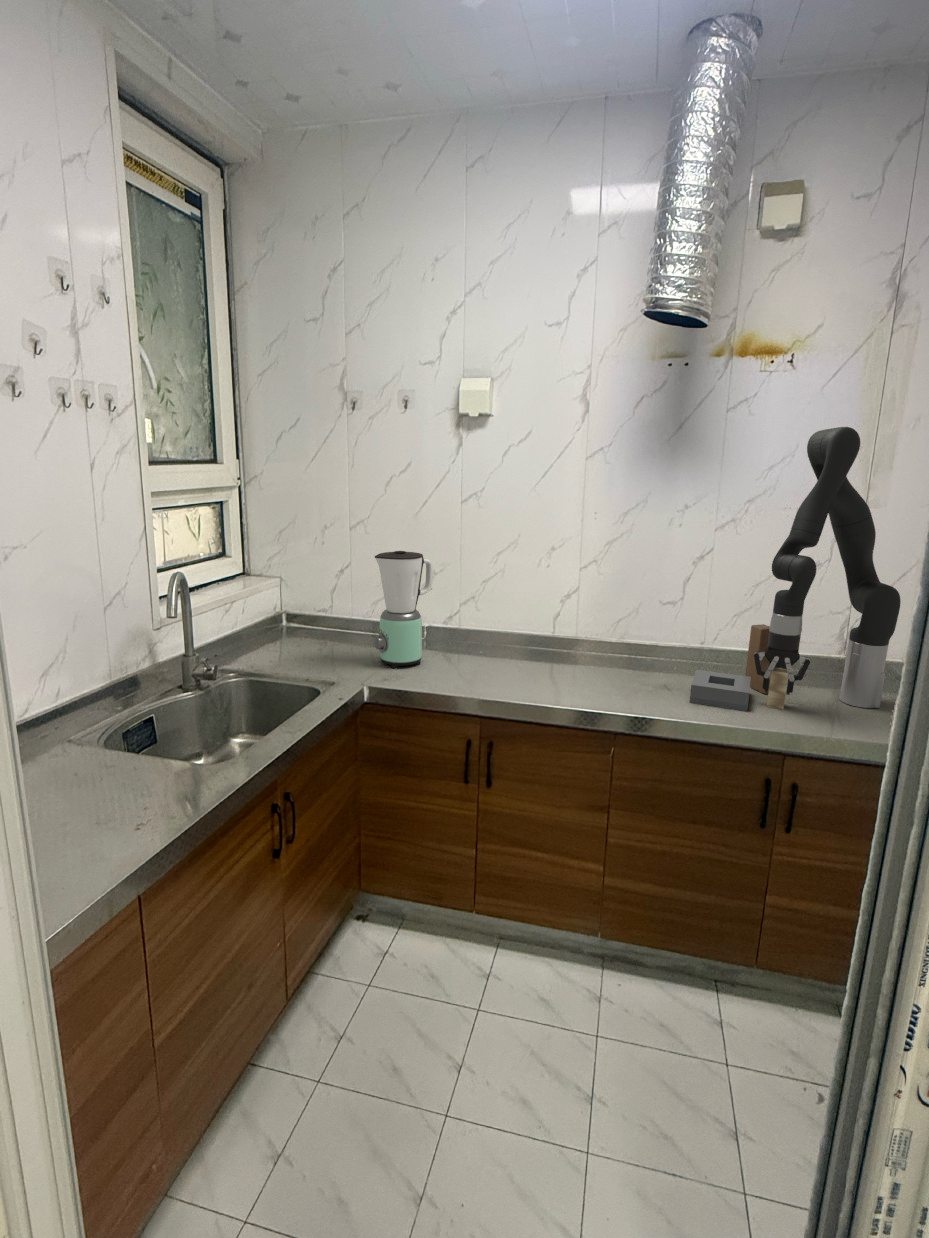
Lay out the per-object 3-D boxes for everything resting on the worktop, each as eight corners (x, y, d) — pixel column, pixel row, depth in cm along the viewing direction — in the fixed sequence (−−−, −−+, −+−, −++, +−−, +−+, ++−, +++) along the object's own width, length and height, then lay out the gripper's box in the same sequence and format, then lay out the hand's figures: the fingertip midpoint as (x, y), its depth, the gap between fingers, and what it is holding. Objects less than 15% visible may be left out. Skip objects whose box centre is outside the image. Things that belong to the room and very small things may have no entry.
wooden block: (778, 693, 192) (786, 631, 188) (764, 694, 191) (772, 632, 186) (756, 683, 200) (764, 623, 196) (743, 684, 199) (750, 624, 195)
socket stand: (748, 693, 191) (750, 676, 190) (747, 711, 178) (749, 693, 177) (694, 686, 197) (696, 669, 195) (689, 702, 184) (691, 684, 183)
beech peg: (783, 704, 184) (788, 669, 181) (783, 709, 180) (788, 673, 178) (767, 702, 185) (771, 666, 183) (767, 706, 182) (771, 671, 179)
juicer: (386, 672, 203) (384, 556, 195) (367, 661, 214) (365, 550, 206) (440, 663, 213) (442, 552, 205) (420, 652, 224) (420, 546, 216)
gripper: (814, 630, 178) (805, 692, 182) (755, 624, 184) (748, 684, 188) (816, 637, 171) (807, 701, 176) (755, 630, 177) (747, 692, 181)
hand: (776, 691), depth 182 cm, fingers open, 4 cm apart
